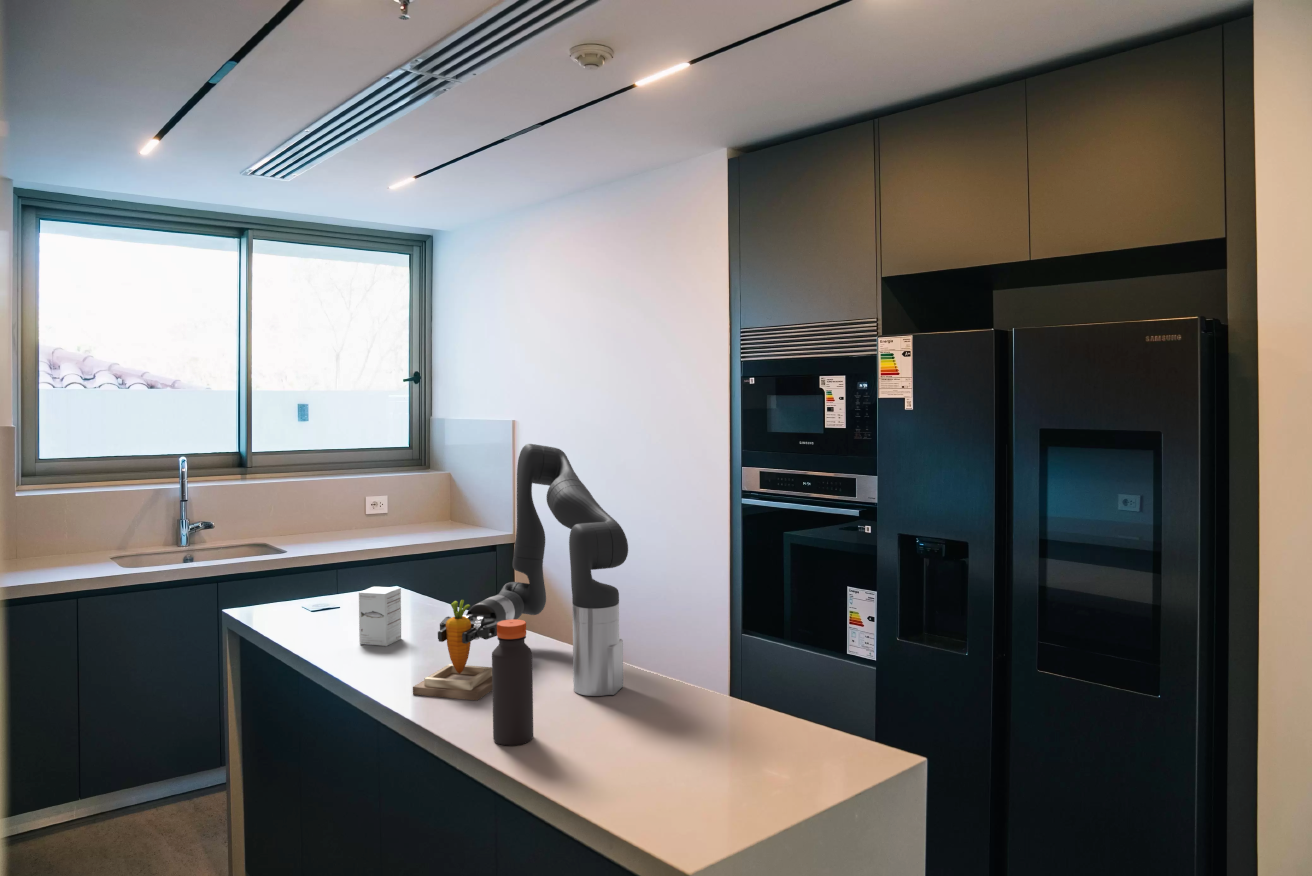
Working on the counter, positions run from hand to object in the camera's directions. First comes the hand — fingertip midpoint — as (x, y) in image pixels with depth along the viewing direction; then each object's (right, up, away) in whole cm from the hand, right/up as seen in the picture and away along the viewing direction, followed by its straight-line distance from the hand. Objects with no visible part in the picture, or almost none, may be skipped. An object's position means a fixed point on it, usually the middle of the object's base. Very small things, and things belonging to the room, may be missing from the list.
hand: (452, 637), depth 177 cm
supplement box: (-26, -10, +38) cm, 46 cm away
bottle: (+16, -12, -24) cm, 31 cm away
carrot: (+1, -8, +3) cm, 9 cm away
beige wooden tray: (+1, -11, +3) cm, 11 cm away
